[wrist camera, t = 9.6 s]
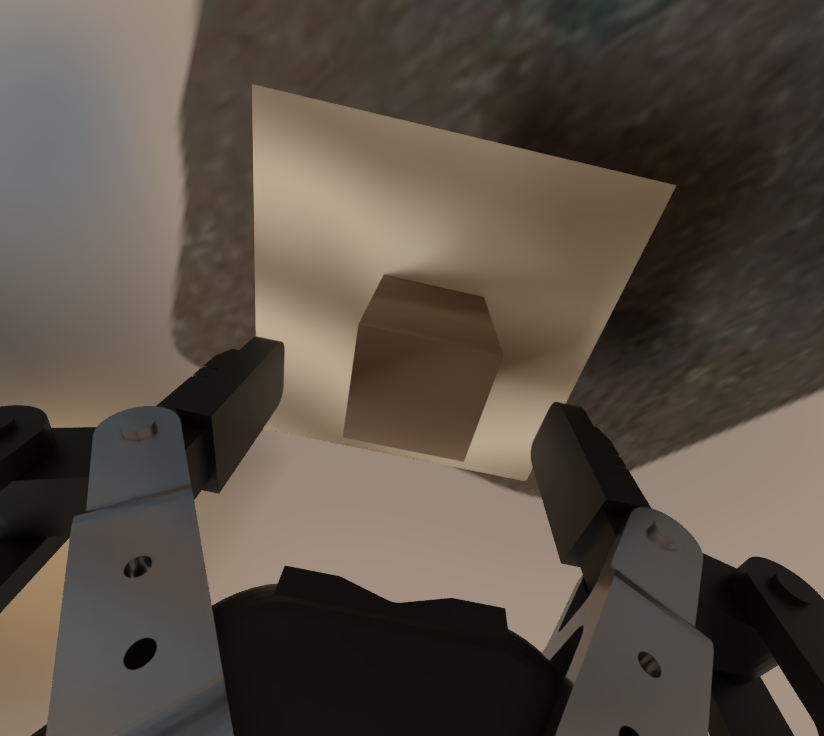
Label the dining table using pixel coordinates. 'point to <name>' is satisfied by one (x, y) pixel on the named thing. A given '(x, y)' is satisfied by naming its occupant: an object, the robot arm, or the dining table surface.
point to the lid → (431, 279)
